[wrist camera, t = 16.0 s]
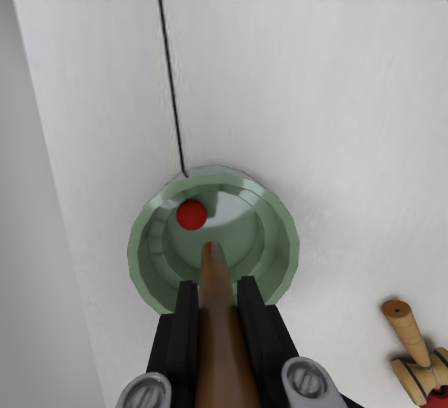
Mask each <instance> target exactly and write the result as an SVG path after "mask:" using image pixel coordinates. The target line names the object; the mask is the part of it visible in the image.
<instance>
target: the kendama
mask: <svg viewBox="0 0 448 408" xmlns="http://www.w3.org/2000/svg"><path fill="white" fill-rule="evenodd" d="M382 311H383V313H384V315H385V316H386V318H387V319H388V321H389V322H390V324H391V325H392V327H393V328H394V330H395V332H396V333H397V335H398V337H399V338H400V340H401V341H402V343H403V345H404V346H405V348H406V349H407V351H408V352H409V353H410V355H411V356H412V357H413V359H414V360H415V361H416V363H417V364H410V363H406V362H403V361H401V360H399V359H396V360H394V361H391V362H390V363H391V366H392V368H393V370H394V372H395V374H396V376H397V377H398V379H399V381H400V382H401V384H402V386H403V387H404V389H405V390H406V392H407V394H408V395H409V397H410V398H411V399H412V401H413V402H414V404H415V405H417V406H419V407H420V408H448V351H447V350H446V349H445V348H443V347H439V348H435V349H434V350H433V354H432V356H431V358H429V354H428V351H427V348H426V345H425V343H424V340H423V338H422V336H421V333H420V331H419V328H418V326H417V324H416V321H415V319H414V316H413V313H412V310H411V308H410V306H409V305H408V304H407V303H405V302H403V301H399V300H392V301H388V302H386V303H385V304H384V305H383V307H382Z"/></svg>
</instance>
